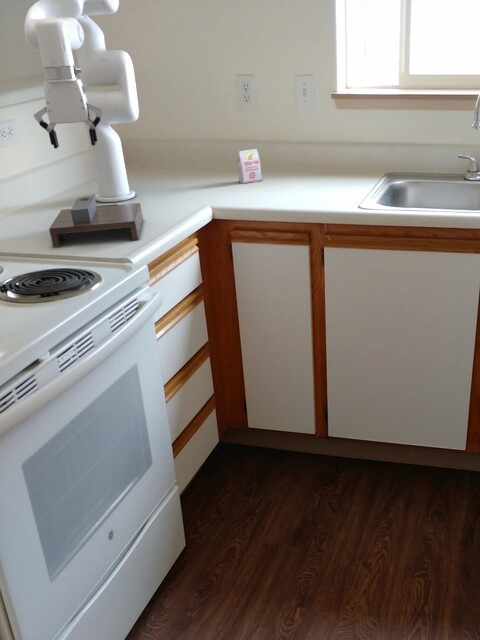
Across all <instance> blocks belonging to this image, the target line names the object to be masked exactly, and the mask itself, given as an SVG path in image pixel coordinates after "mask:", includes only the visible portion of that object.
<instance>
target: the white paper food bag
mask: <svg viewBox="0 0 480 640" xmlns="http://www.w3.org/2000/svg"><path fill="white" fill-rule="evenodd" d="M258 152H259V151H258V148H252V149H244V150H238V151H237V162H236V167H237V175H238V182H239V183H240V184H243V185H245V184H250V183H257V182H262V167H261V160H260V156H259V153H258Z"/></svg>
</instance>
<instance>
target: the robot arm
mask: <svg viewBox="0 0 480 640" xmlns="http://www.w3.org/2000/svg"><path fill="white" fill-rule="evenodd" d="M119 6H120V0H38V1H37V2H35V3H34V4H33V5H32V6H30V8H29V9H28V10H27V13H26V15H25V19H24V26H23V33H24V39H25V42H26V44H27V46H28V48H30V49H31V51H33V52H36V53H40V58H41V62H42V66H43V71H44V75H45V76H44V77H45V81H43V90H44V100H45V106H44V107H43V108H41V109H40V110H38V111H37V112H36V113H34V114H33V118H34V119H35V121H36V122H37V123H38V124H39V126H40V127H41V128H43V129H44V130H45V131H46V133H48V137H49V140H50V145H51V146H53V149H58V148H59V146H60V144H59V139H58V136H57V131H56V130H55V128H56V125H62V124H75V123H77V124H78V123H83V125H84V127H85V130H86V135H87V139H88V144H89V149H90V153H91V154H90V155H91V158H92V165H93V170H94V173H95V179H96V185H97V188H98V193H97V194H95V195H94V197H95V201H96V202H99V203H116V202H123V201H126V200H130V199H133V198H134V197H135V196H136V191H134V190H132V189H130V186H129V181H128V175H127V169H126V164H125V158H124V152H123V147H122V146H123V145H122V141H121V138H120V136H119V135H118V133H117V131H115V130H114V129H113V128H112V126H110V125H118V124H131V123H135V122H137V120H138V119H139V114H140V109H139V100H138V92H137V85H136V77H135V76H136V75H135V70H134V64H133V60H132V58H131V56H130V54H129V53H128V52H127V51H125V50H121V49H115V50H114V49H112V50H107V49H106V42H105V35H104V32H103V31H102V29H101V28H100V26H99V25H98V24H97V23H96V22H95V21H94V20H93V19H92V18H90V16H101V15H103V16H104V15H112V14H115V13H117V11H118V9H119ZM73 51H76V58H77V64H78V67H77V66H76V65H75V60H74V55H73ZM78 76H80V78H78ZM83 84H84V85H85V86H88V87H110V86H111V87H113V86H118V87H120V89H102V90H101V89H100V90H89V91H85V87H84V85H83ZM45 114H47V119H48V121H49V123H47V122H46V121H45V120H44V119H43V116H45Z"/></svg>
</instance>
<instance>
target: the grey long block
mask: <svg viewBox="0 0 480 640" xmlns="http://www.w3.org/2000/svg"><path fill="white" fill-rule="evenodd" d="M96 202H97V201H96V199H95V195H94V196H82V197H81V196H80V197H77V198H76V200H75V202H74V204H73V205H72V207H71V208H70V209H71V210H70V211H71V215H72V220H73V223H85V222H91V220H92V218H93V216H94V214H95V212H96V210H97V207H96V206H97V203H96Z"/></svg>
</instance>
